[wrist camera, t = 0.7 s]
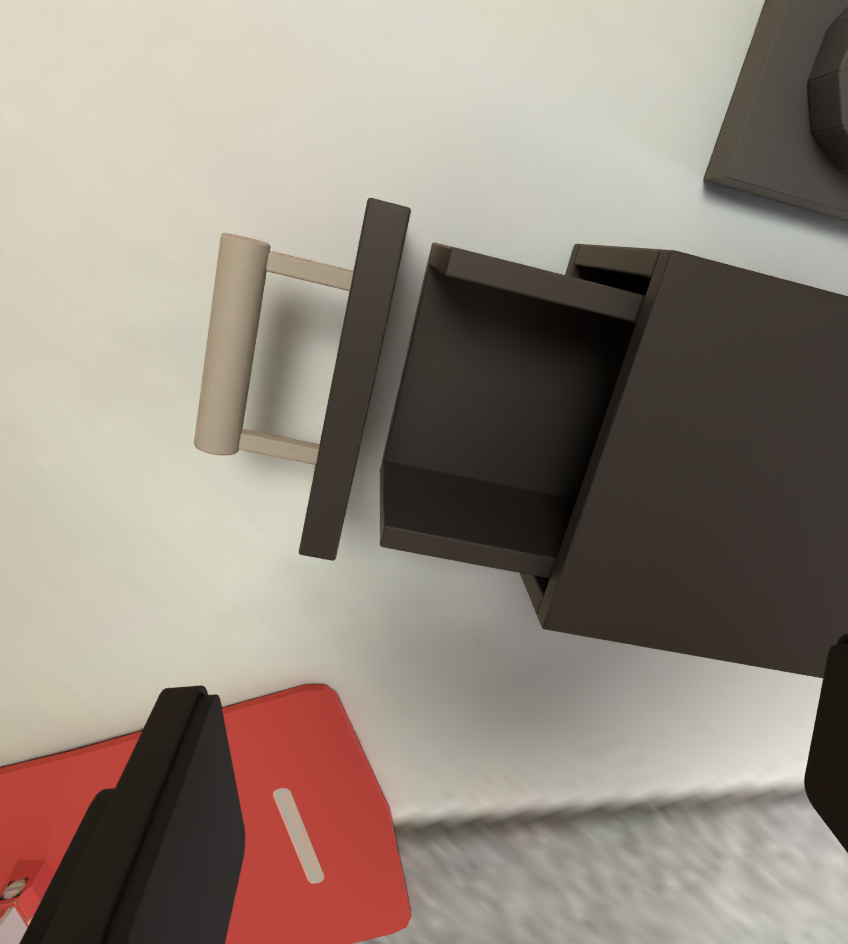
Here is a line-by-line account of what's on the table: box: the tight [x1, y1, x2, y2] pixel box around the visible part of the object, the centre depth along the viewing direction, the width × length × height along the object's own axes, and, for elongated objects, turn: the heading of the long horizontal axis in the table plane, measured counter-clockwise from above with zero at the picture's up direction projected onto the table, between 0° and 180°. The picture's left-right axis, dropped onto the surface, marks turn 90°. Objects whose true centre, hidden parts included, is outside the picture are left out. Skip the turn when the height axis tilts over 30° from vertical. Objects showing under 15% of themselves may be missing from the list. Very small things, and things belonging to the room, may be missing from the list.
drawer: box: [194, 198, 645, 578], centre depth 24 cm, size 18×11×8 cm, turn 76°
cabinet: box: [520, 244, 848, 678], centre depth 25 cm, size 15×12×10 cm
